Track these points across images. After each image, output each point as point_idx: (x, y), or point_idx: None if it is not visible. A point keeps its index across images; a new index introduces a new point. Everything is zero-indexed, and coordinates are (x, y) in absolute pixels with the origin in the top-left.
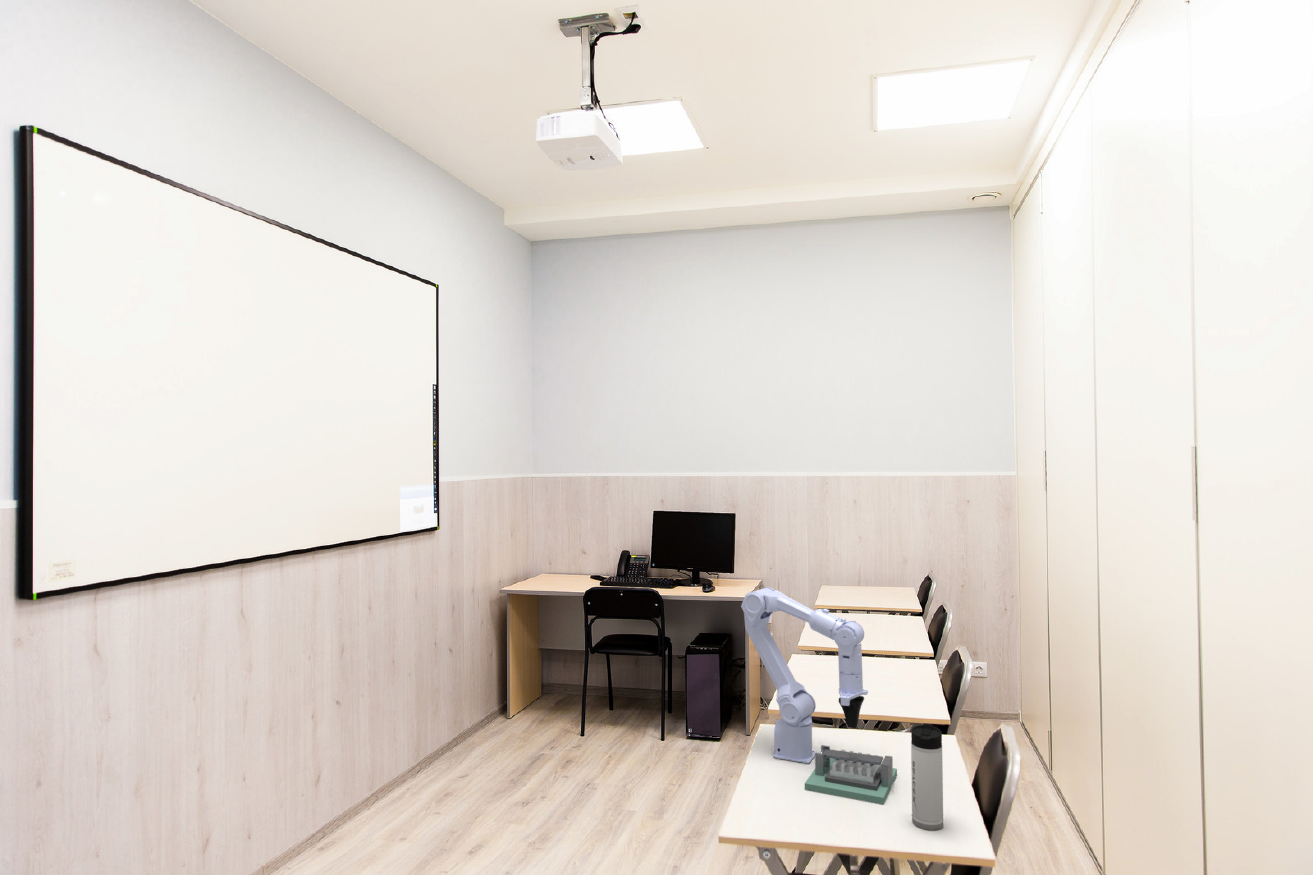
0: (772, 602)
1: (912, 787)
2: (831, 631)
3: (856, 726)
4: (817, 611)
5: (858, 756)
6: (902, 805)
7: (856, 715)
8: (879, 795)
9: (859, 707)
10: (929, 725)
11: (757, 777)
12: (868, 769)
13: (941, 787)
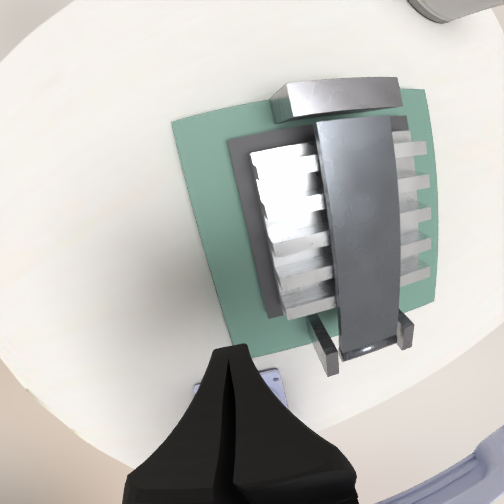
0: None
1: (502, 4)
2: None
3: (238, 347)
4: None
5: (369, 222)
6: (386, 46)
7: (275, 396)
8: (419, 102)
9: (271, 439)
10: None
11: (398, 386)
12: (422, 149)
13: None
